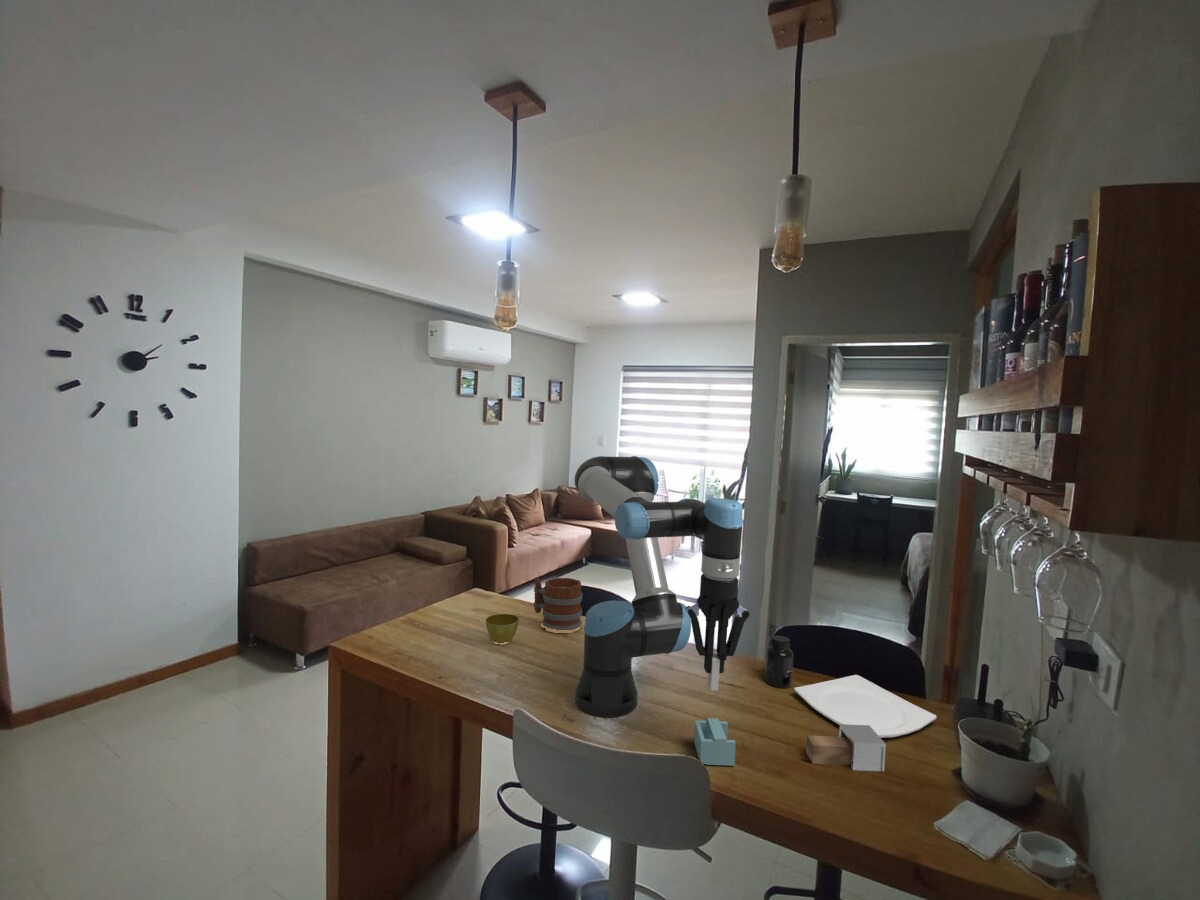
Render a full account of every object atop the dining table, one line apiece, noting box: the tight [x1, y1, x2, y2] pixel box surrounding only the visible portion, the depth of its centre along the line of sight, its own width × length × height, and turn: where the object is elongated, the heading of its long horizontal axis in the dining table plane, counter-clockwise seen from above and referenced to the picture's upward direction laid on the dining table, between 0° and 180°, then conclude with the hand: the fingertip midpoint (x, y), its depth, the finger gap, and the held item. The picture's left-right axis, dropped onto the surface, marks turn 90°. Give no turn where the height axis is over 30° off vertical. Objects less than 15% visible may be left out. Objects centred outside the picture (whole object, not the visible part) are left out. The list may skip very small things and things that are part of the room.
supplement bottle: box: [764, 635, 794, 689], centre depth 142 cm, size 7×7×12 cm
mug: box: [533, 577, 583, 630], centre depth 178 cm, size 14×19×15 cm
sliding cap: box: [693, 717, 737, 767], centre depth 109 cm, size 7×8×5 cm
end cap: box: [838, 724, 887, 772], centre depth 109 cm, size 6×7×6 cm
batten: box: [805, 735, 852, 766], centre depth 109 cm, size 12×4×4 cm, turn 89°
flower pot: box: [485, 613, 520, 643], centre depth 163 cm, size 10×10×7 cm
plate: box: [793, 674, 938, 739], centre depth 129 cm, size 24×24×3 cm
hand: (712, 687), depth 110 cm, fingers closed
